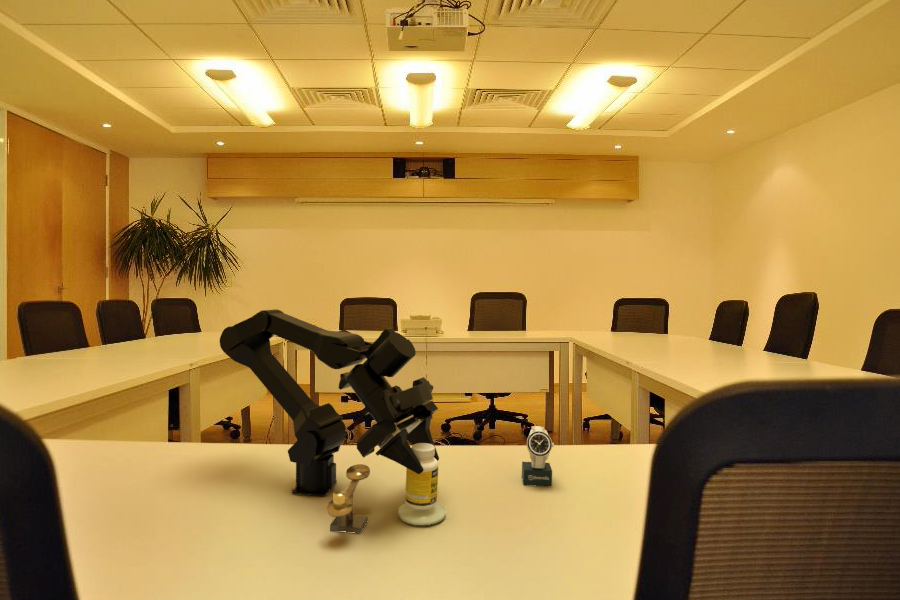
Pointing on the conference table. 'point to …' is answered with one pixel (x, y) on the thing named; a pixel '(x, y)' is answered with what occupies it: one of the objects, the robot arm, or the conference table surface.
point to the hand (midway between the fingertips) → (429, 466)
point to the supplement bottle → (422, 479)
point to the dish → (422, 514)
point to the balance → (348, 503)
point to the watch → (538, 458)
